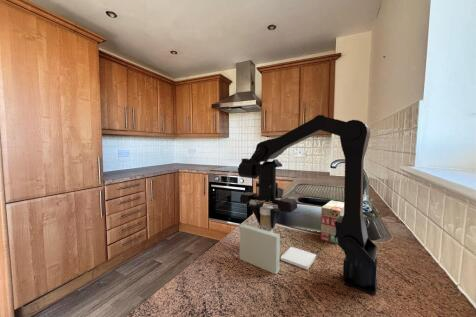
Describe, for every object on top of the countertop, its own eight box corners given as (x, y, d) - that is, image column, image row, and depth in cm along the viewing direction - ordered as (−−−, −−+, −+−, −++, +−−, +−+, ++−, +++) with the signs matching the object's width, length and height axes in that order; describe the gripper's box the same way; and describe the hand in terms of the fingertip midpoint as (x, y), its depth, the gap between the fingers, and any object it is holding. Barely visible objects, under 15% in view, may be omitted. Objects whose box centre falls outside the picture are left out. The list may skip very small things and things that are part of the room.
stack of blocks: (335, 223, 88) (336, 195, 87) (351, 226, 84) (352, 198, 83) (320, 239, 72) (321, 206, 71) (339, 245, 67) (340, 210, 67)
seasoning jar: (258, 249, 64) (258, 209, 63) (260, 243, 68) (261, 205, 68) (272, 251, 63) (273, 210, 62) (273, 244, 67) (274, 206, 67)
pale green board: (279, 270, 53) (279, 234, 53) (276, 274, 51) (276, 237, 51) (243, 255, 60) (243, 224, 60) (239, 258, 59) (239, 226, 58)
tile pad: (316, 257, 60) (316, 254, 60) (307, 269, 53) (307, 267, 53) (291, 248, 65) (291, 246, 65) (280, 259, 58) (280, 257, 58)
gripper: (303, 179, 65) (302, 225, 66) (255, 175, 77) (255, 214, 77) (290, 184, 56) (289, 237, 57) (238, 178, 68) (238, 222, 68)
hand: (266, 226), depth 65 cm, fingers closed on seasoning jar, 4 cm apart
